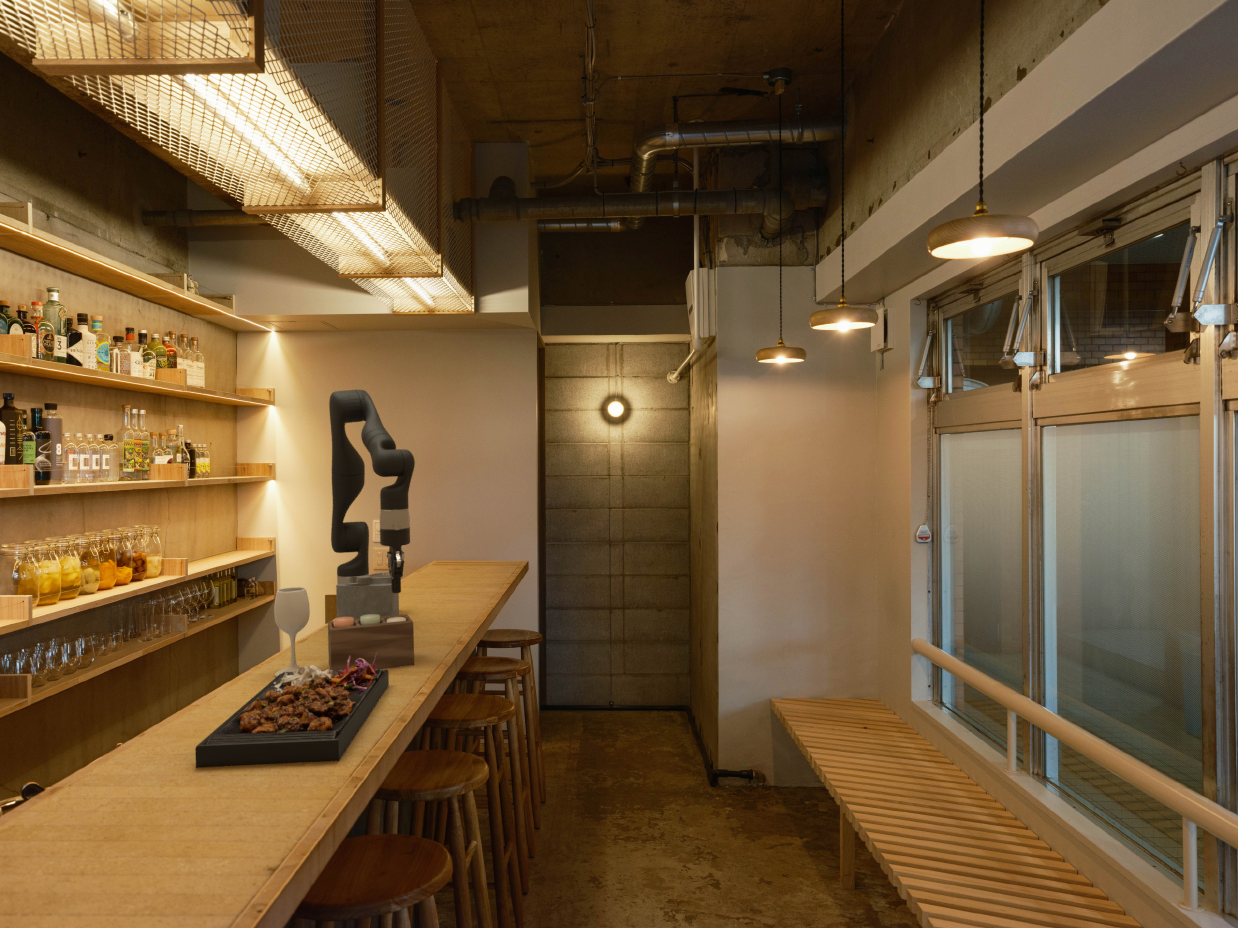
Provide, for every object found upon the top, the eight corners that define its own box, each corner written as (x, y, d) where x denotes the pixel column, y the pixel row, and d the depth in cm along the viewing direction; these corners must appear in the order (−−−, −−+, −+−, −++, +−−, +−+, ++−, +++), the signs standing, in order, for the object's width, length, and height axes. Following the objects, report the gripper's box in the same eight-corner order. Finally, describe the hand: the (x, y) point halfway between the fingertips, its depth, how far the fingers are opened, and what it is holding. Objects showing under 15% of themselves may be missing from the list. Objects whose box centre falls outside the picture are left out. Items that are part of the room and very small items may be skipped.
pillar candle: (367, 614, 268) (365, 570, 267) (396, 611, 272) (395, 567, 271) (371, 620, 259) (369, 574, 258) (401, 617, 263) (400, 571, 262)
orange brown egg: (333, 631, 205) (332, 617, 205) (352, 629, 207) (352, 615, 207) (334, 635, 200) (334, 621, 200) (354, 633, 202) (354, 619, 202)
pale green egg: (359, 628, 207) (359, 615, 207) (379, 626, 209) (378, 613, 209) (361, 632, 203) (361, 618, 203) (381, 630, 205) (381, 616, 205)
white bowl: (266, 675, 197) (264, 591, 197) (295, 666, 205) (293, 585, 204) (291, 680, 193) (289, 593, 193) (319, 670, 201) (317, 587, 200)
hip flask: (395, 645, 226) (394, 574, 226) (391, 648, 222) (389, 576, 222) (340, 645, 227) (338, 574, 226) (334, 648, 223) (332, 577, 222)
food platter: (280, 692, 186) (279, 648, 186) (388, 688, 188) (387, 644, 188) (195, 771, 141) (194, 713, 141) (339, 764, 143) (337, 707, 143)
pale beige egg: (385, 631, 210) (385, 618, 210) (404, 629, 212) (404, 616, 212) (388, 635, 206) (387, 621, 206) (407, 633, 208) (407, 619, 207)
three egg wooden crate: (328, 663, 208) (327, 621, 207) (407, 654, 215) (406, 614, 215) (331, 674, 197) (330, 630, 197) (414, 664, 205) (413, 622, 205)
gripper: (376, 524, 213) (378, 589, 213) (383, 529, 200) (384, 598, 201) (405, 523, 216) (407, 587, 216) (413, 528, 203) (415, 595, 204)
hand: (396, 592), depth 209 cm, fingers closed
